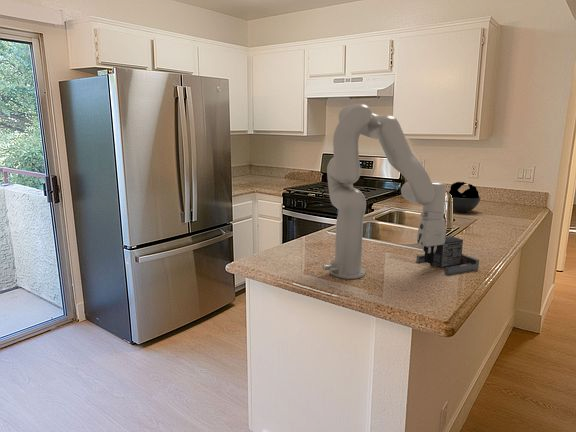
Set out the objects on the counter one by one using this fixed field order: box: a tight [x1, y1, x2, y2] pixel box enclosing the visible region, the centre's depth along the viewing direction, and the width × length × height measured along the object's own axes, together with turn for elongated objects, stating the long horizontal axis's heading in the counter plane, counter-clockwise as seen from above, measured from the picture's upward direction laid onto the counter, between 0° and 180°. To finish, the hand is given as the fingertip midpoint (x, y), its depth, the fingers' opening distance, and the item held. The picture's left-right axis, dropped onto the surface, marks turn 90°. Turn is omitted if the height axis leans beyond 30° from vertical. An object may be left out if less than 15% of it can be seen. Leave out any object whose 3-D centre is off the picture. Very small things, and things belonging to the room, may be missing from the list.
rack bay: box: [415, 253, 480, 276], centre depth 165 cm, size 15×17×4 cm
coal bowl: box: [448, 181, 481, 213], centre depth 266 cm, size 20×20×19 cm
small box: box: [429, 236, 464, 270], centre depth 165 cm, size 11×6×10 cm, turn 114°
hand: (428, 262), depth 161 cm, fingers closed
